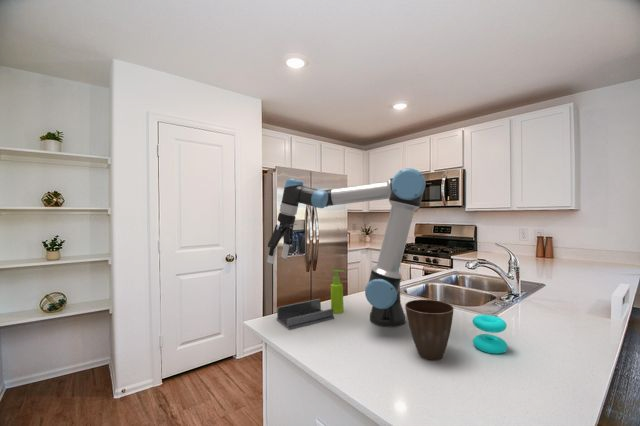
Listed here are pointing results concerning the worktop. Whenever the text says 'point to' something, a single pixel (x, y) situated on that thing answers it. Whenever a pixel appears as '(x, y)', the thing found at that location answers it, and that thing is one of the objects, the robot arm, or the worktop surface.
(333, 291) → the soap dispenser
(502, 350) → the donuts
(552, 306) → the worktop surface
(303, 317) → the track
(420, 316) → the plant pot
